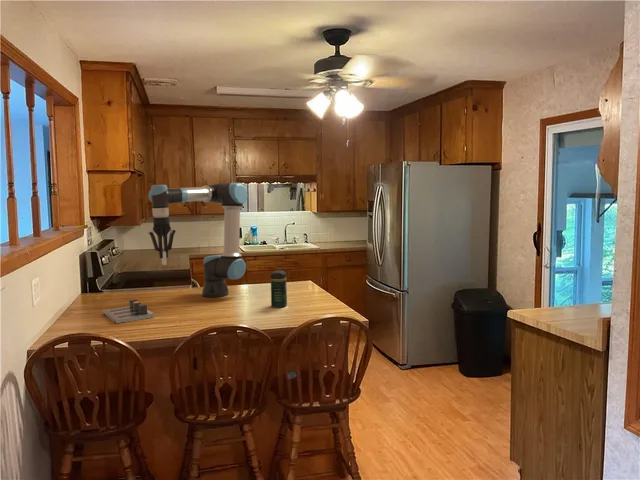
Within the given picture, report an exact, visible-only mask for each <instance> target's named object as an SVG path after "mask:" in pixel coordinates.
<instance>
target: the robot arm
mask: <svg viewBox="0 0 640 480" xmlns="http://www.w3.org/2000/svg"><path fill="white" fill-rule="evenodd" d="M150 188H151V189H150V190H149V192H148V196H147V197H148V200H149V201H150V203H151V207H152V209H151V210H152V217H153V218H152V221H153V227H152V230H151V231H148V233H147V234H148V235H149V236H150V238H151V242H152V244H153V248H154V250H155V251H157V252H158V255H159V258H160V259H161V265H163V266H166V265H167V264H168V263H167V258H169V253H168V252H169V251H170V250H172V248H173V243H174V236H175V233H176V230H175V229H173V228H172V227H171V226H170V225H171V224H170V217H169V215H170V214H169V212H170V210H169V205H170V204H184V203H186V202H204V203H216V204H221V207H222V208H223V210H224V213H223V215H224V222H223V223H224V225H223V228H224V229H223V253H221V254H216V255H215V254H213V255H209V256H205V257H204V258H203V276H204V278H203V279H204V284H203V287H202V290H201V295H202V297H206V298H218V297H224V296H225V297H226V296H228V295H229V288H228V286H227V283H226V279H229V280H239V279H241V278H242V277H243V276H244V274H245V273H246V270H247V263H246V262H245V260H243V255H242V254H241V253H240V232H241V231H240V230H241V229H240V228H241V226H240V225H241V224H240V222H241V221H240V220H241V210H242V208H243V207H244V205H243V204H244V203H246V201H247V199H248V191H247V188H246V187H245V185H243V184H242V183H241V182H220V183H219V182H218V183H213V184H205V185H203V186H201V187H200V186H199V187H173V188H172V187H170V188H169V187H168V185H167V184H153V185H151V187H150ZM155 234H156V235H157V239H156V236H155ZM168 235H169V238H168Z"/></svg>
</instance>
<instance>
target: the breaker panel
mask: <svg viewBox="0 0 640 480" xmlns="http://www.w3.org/2000/svg"><path fill="white" fill-rule="evenodd" d="M136 301H138V299H137V298H129V299H128V303H129V304H128V305H129V306H122V307H116V308H110V309H104V310H102V315H103V314H105V315H106V316H107V317H109V318H110V319H112V320H113V321H114V322H116V323H120V322H126V323H128V322H127V321H131V322H135V321H134V320H137V321H142V320H141V319H143V320H146V318H148V319H152V318H151V317H154V318H155V313H154V312H153V311H151V310H149V309H148V305H147V304H145V303H141V304H139V305H138V310H139V311H134V310H133V306H132V302H136ZM105 315H104V316H105ZM106 316H105V317H106ZM107 317H106V318H107ZM109 318H108V319H109ZM110 319H109V320H110ZM113 321H112V322H113ZM114 322H113V323H114ZM120 324H121V323H120Z"/></svg>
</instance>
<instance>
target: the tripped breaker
mask: <svg viewBox="0 0 640 480" xmlns="http://www.w3.org/2000/svg"><path fill="white" fill-rule="evenodd" d="M139 304H142V302H141V301H139V300H137V301H136V302H132V306H133V310H134V311H139V310H138V305H139Z"/></svg>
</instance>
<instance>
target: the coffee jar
mask: <svg viewBox="0 0 640 480" xmlns="http://www.w3.org/2000/svg"><path fill="white" fill-rule="evenodd" d="M287 291H288V289H287V272H286V271H285V270H280V269H278V270H274V271H273V272H272V273H270V298H271V299H270V304H271V307H272V308H278V309H279V308H284V307H286V306H287V304H288V295H287V294H288V293H287Z"/></svg>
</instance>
